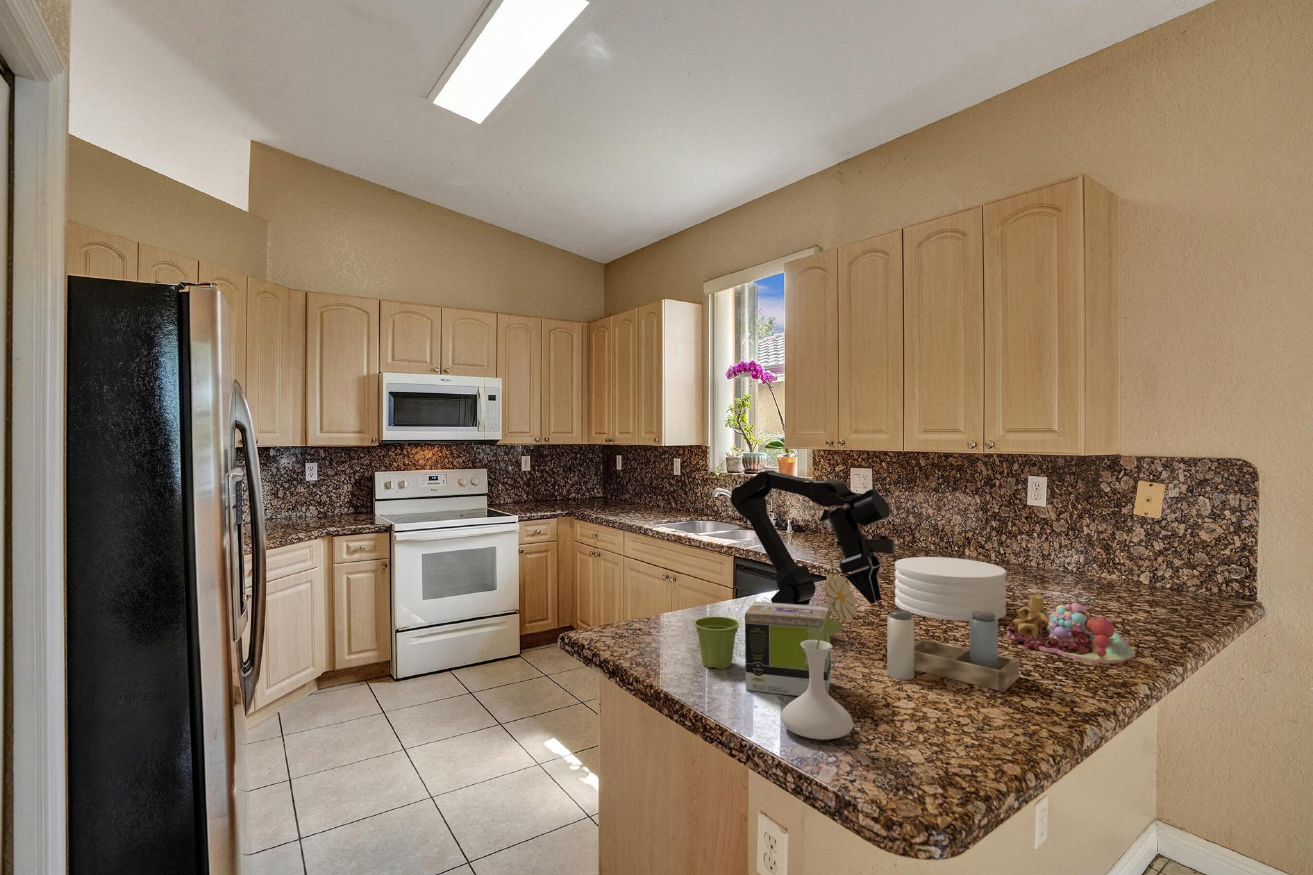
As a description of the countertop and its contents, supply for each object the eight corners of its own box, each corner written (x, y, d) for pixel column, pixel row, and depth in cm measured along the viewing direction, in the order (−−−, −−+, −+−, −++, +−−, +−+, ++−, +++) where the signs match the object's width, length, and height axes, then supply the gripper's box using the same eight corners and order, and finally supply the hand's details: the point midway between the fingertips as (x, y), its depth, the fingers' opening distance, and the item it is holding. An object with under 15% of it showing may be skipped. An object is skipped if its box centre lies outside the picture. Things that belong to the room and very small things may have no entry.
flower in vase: (809, 753, 96) (809, 585, 96) (766, 722, 106) (766, 571, 106) (877, 736, 101) (877, 578, 101) (830, 708, 112) (830, 564, 112)
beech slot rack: (902, 666, 132) (902, 649, 132) (921, 654, 139) (921, 638, 139) (1004, 691, 119) (1004, 672, 119) (1019, 677, 126) (1019, 659, 126)
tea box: (831, 681, 124) (831, 605, 124) (827, 702, 115) (827, 619, 115) (753, 672, 129) (753, 598, 129) (744, 691, 119) (744, 611, 119)
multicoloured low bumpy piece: (993, 644, 147) (993, 604, 147) (1020, 622, 164) (1020, 586, 164) (1128, 671, 130) (1128, 625, 130) (1142, 644, 147) (1142, 603, 147)
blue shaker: (981, 683, 123) (980, 618, 123) (963, 673, 128) (963, 611, 128) (1004, 681, 124) (1003, 616, 124) (986, 672, 129) (985, 609, 129)
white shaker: (896, 680, 124) (896, 616, 124) (882, 671, 129) (882, 609, 129) (919, 678, 125) (919, 614, 125) (905, 669, 130) (904, 608, 130)
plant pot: (709, 675, 127) (709, 631, 127) (685, 660, 136) (685, 619, 136) (748, 667, 132) (748, 625, 132) (723, 653, 140) (723, 614, 140)
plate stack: (922, 590, 198) (922, 553, 198) (1021, 608, 178) (1021, 566, 178) (876, 606, 179) (876, 565, 179) (981, 628, 159) (981, 582, 159)
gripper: (877, 518, 133) (908, 592, 128) (888, 523, 150) (916, 588, 145) (827, 537, 137) (855, 609, 132) (843, 539, 154) (869, 603, 149)
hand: (876, 601), depth 139 cm, fingers open, 9 cm apart
